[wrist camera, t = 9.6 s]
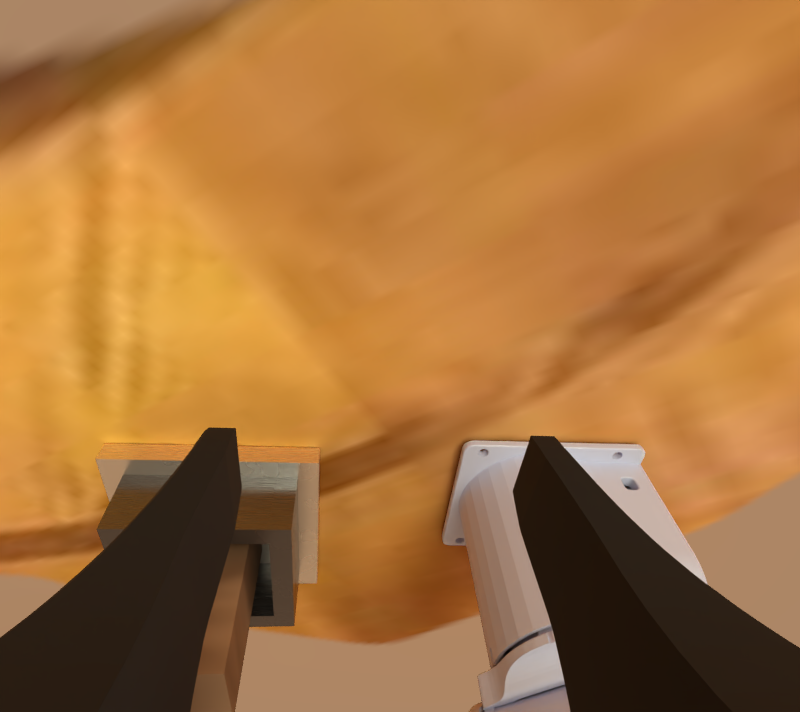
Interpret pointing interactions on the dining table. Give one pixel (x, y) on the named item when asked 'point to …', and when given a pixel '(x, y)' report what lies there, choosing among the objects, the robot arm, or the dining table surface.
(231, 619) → the rail post
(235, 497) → the robot arm
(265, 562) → the grey square socket
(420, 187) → the dining table surface
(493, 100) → the dining table surface
